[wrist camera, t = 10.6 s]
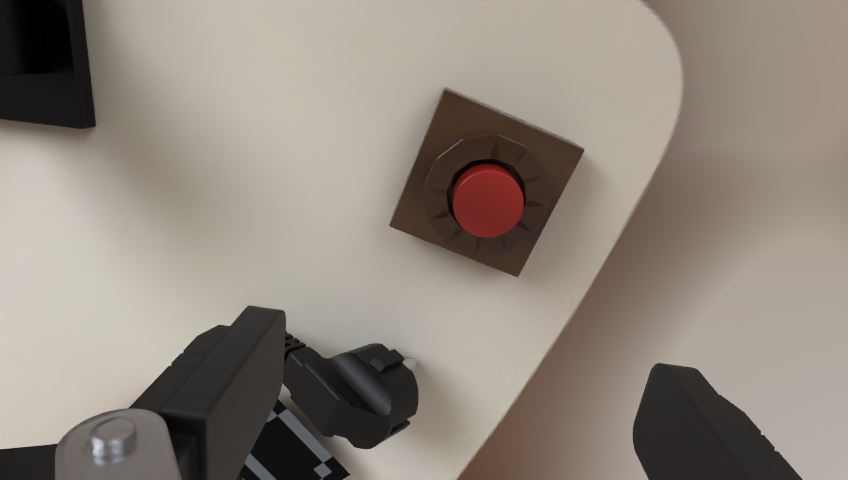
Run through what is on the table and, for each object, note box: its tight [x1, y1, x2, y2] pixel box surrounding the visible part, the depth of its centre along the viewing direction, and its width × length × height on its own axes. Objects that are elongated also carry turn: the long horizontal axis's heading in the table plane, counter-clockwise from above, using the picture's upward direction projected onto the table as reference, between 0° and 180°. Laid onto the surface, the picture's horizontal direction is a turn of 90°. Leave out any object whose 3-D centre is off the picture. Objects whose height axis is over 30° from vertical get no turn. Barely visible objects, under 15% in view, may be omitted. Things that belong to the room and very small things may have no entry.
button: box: [453, 164, 524, 238], centre depth 25 cm, size 3×3×2 cm
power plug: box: [282, 331, 418, 449], centre depth 32 cm, size 6×8×12 cm
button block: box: [389, 87, 584, 277], centre depth 27 cm, size 8×8×4 cm
